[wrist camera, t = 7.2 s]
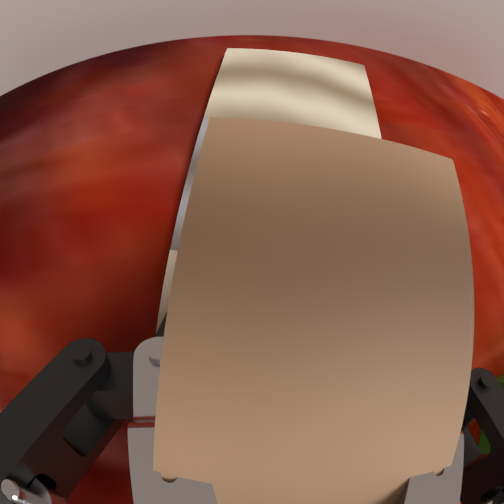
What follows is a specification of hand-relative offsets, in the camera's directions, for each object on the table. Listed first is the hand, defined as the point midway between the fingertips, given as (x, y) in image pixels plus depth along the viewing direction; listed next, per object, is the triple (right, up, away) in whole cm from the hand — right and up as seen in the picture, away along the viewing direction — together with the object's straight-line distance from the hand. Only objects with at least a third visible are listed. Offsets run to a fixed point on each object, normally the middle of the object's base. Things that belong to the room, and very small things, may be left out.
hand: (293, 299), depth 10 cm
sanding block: (0, -3, +4) cm, 5 cm away
